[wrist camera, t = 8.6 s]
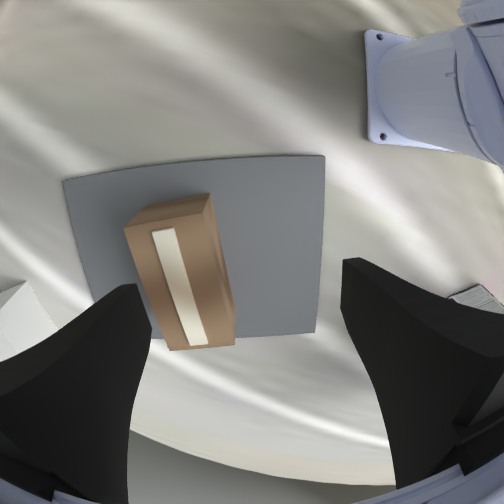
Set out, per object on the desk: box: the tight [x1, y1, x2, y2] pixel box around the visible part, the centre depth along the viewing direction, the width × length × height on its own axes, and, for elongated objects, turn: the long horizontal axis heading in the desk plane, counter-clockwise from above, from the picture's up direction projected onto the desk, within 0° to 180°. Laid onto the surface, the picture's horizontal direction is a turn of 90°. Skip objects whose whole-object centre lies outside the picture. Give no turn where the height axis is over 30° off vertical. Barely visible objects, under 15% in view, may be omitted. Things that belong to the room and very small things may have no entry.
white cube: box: [0, 281, 58, 362], centre depth 21 cm, size 6×6×6 cm
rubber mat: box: [63, 156, 325, 339], centre depth 21 cm, size 18×14×1 cm
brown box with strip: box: [124, 193, 236, 351], centre depth 19 cm, size 9×4×4 cm, turn 9°
